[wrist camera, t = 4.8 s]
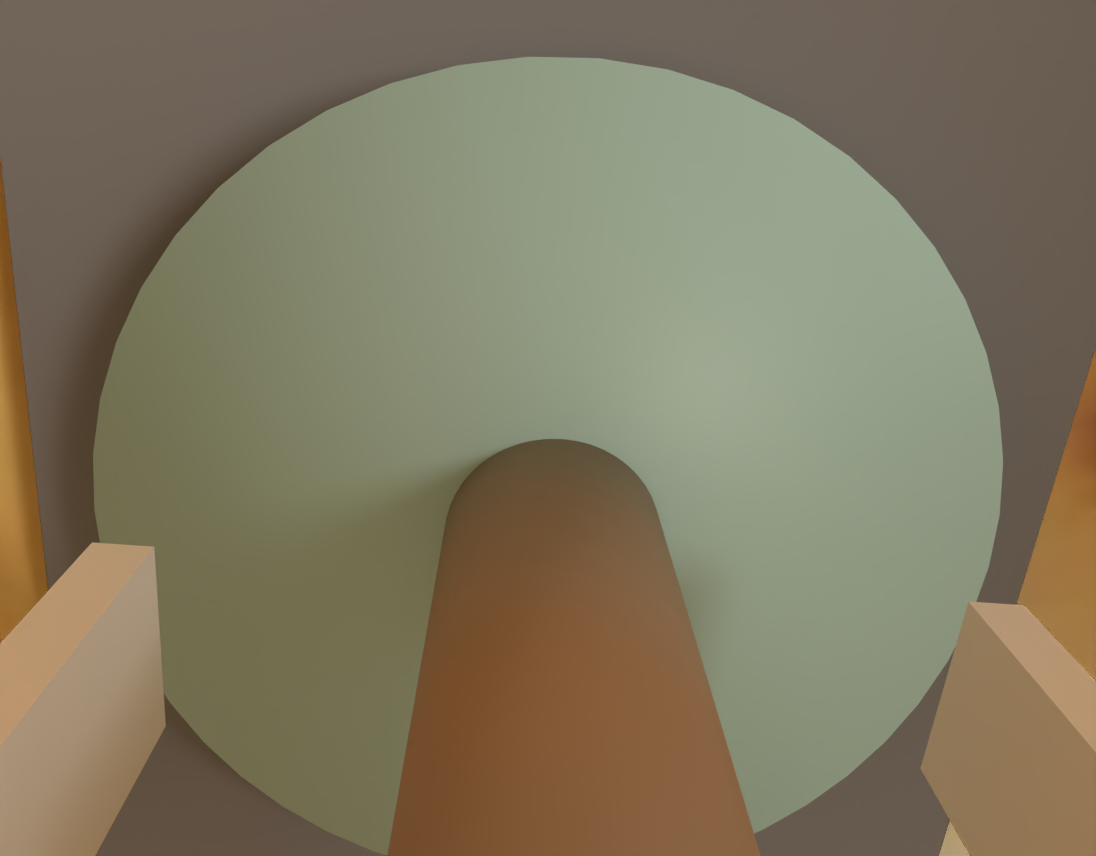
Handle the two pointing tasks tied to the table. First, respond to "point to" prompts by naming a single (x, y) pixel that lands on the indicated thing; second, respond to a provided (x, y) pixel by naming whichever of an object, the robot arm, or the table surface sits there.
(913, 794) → the mat
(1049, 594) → the table surface
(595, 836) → the lid
